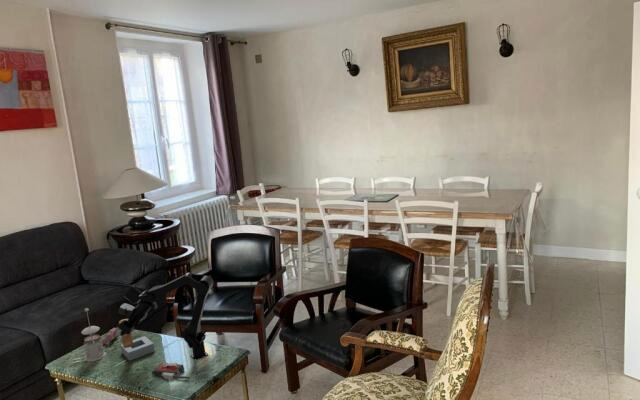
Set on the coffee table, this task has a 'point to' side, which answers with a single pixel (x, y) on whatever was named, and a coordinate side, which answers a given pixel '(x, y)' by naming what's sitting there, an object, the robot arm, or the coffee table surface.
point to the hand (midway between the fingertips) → (123, 332)
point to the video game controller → (110, 335)
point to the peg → (126, 338)
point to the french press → (95, 348)
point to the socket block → (138, 348)
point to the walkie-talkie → (169, 370)
